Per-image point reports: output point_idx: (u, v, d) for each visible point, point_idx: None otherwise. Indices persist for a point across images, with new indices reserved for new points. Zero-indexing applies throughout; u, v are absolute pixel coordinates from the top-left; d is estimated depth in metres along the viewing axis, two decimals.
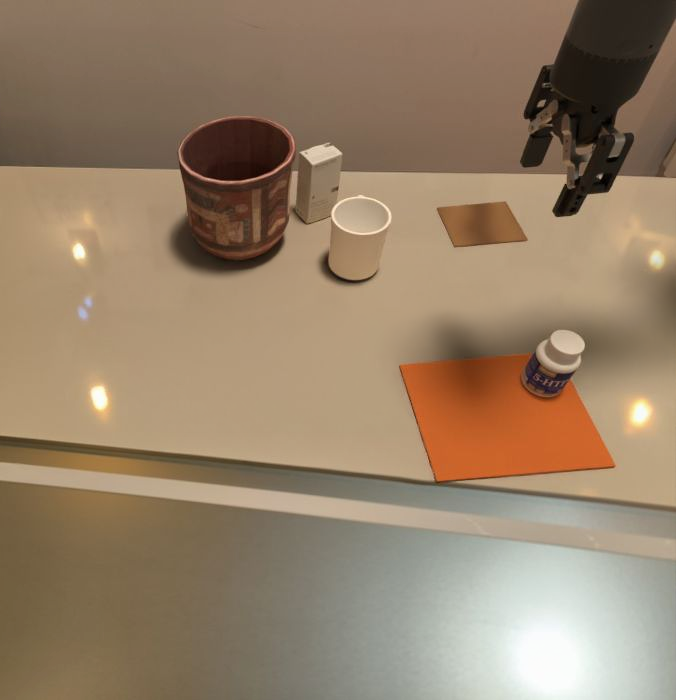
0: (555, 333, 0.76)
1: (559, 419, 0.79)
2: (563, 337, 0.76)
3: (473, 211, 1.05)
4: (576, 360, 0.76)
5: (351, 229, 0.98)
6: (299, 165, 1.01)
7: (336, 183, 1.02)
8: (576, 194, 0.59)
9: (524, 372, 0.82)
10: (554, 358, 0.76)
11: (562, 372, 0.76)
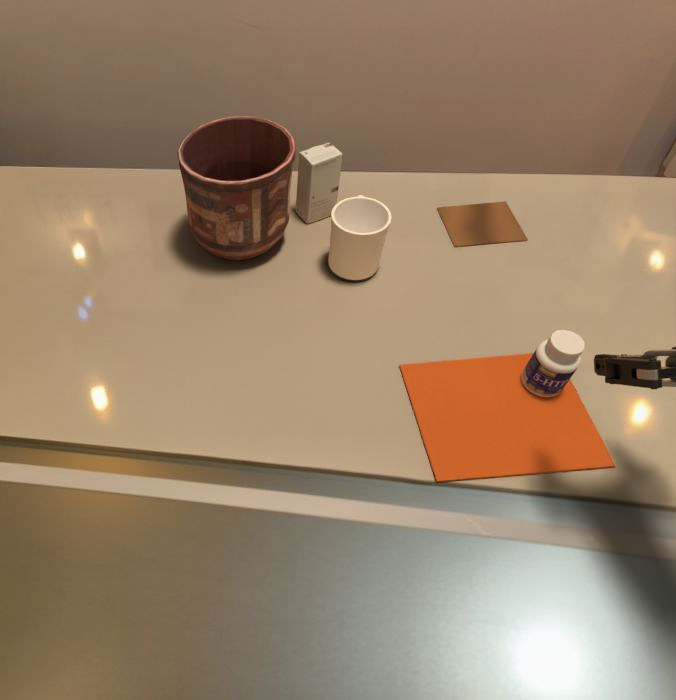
0: (555, 333, 0.76)
1: (559, 419, 0.79)
2: (563, 337, 0.76)
3: (473, 211, 1.05)
4: (576, 360, 0.76)
5: (351, 229, 0.98)
6: (299, 165, 1.01)
7: (336, 183, 1.02)
8: None
9: (524, 372, 0.82)
10: (554, 358, 0.76)
11: (562, 372, 0.76)
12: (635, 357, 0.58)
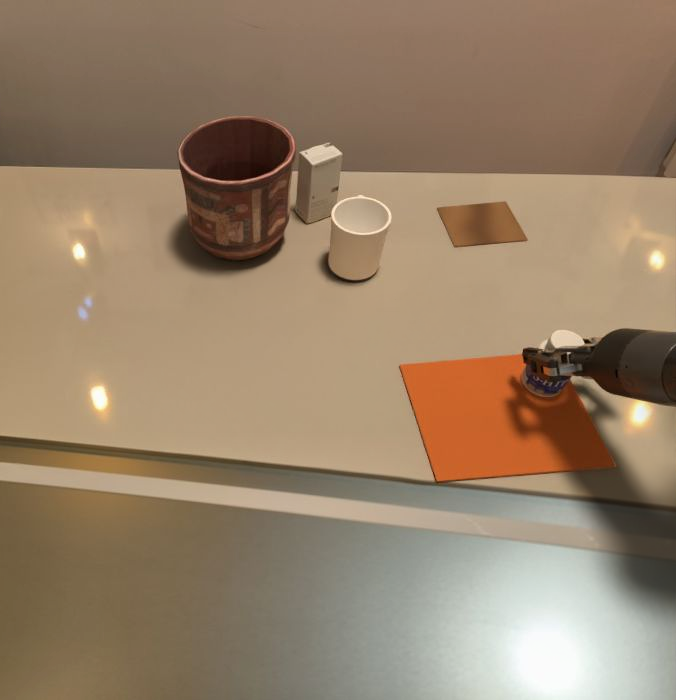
0: (555, 333, 0.76)
1: (559, 419, 0.79)
2: (563, 337, 0.76)
3: (473, 211, 1.05)
4: None
5: (351, 229, 0.98)
6: (299, 165, 1.01)
7: (336, 183, 1.02)
8: None
9: (524, 372, 0.82)
10: None
11: None
12: (549, 353, 0.74)
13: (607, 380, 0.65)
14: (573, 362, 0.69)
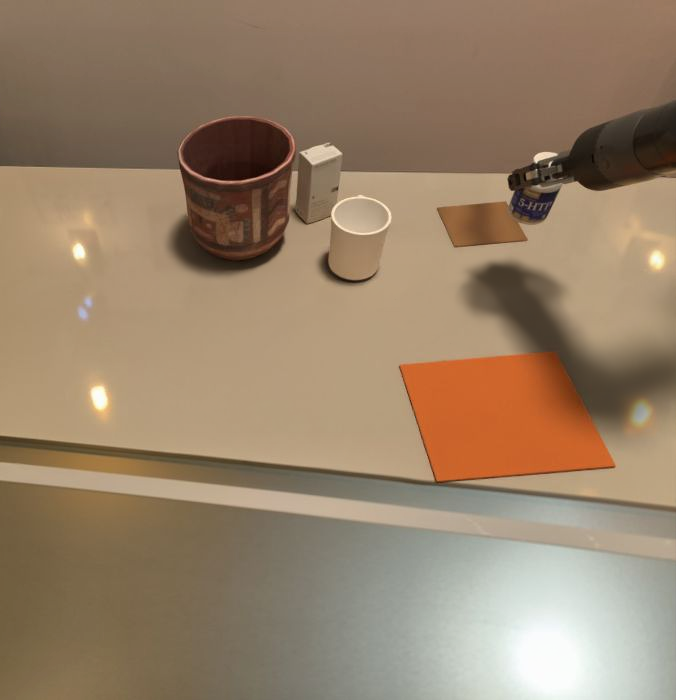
0: (538, 154, 0.80)
1: (559, 419, 0.79)
2: (546, 157, 0.80)
3: (473, 211, 1.05)
4: None
5: (351, 229, 0.98)
6: (299, 165, 1.01)
7: (336, 183, 1.02)
8: None
9: (510, 203, 0.86)
10: None
11: (545, 191, 0.80)
12: None
13: (585, 170, 0.69)
14: (553, 164, 0.73)
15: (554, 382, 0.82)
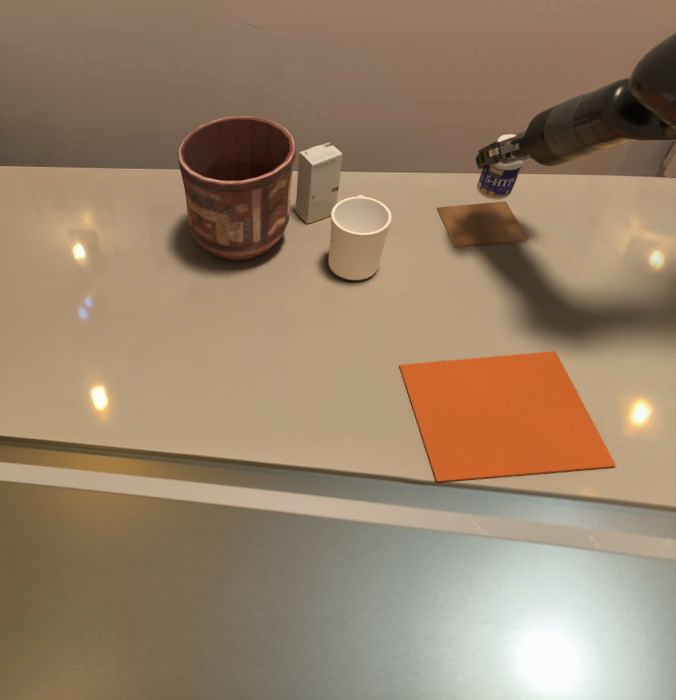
0: (502, 136, 0.92)
1: (559, 419, 0.79)
2: (508, 138, 0.91)
3: (473, 211, 1.05)
4: None
5: (351, 229, 0.98)
6: (299, 165, 1.01)
7: (336, 183, 1.02)
8: None
9: None
10: None
11: (507, 168, 0.91)
12: None
13: (537, 147, 0.80)
14: (512, 143, 0.84)
15: (554, 382, 0.82)
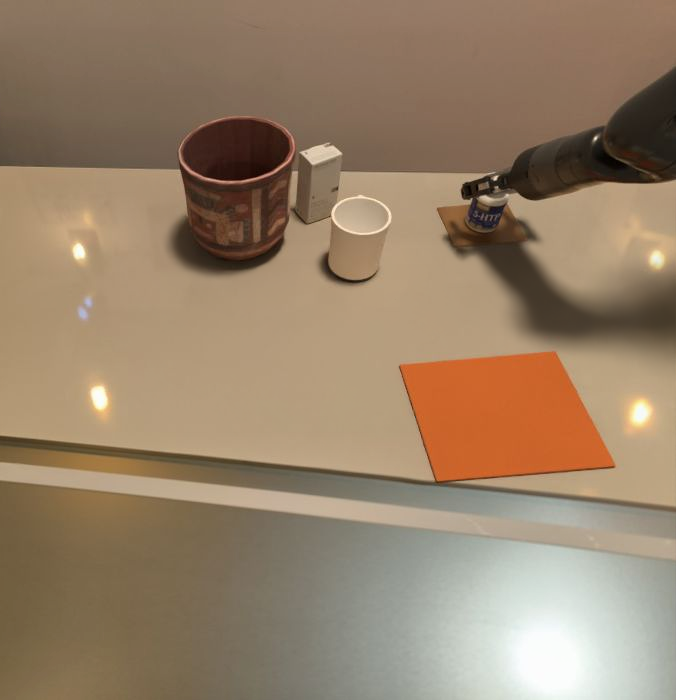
0: None
1: (559, 419, 0.79)
2: (495, 177, 0.96)
3: None
4: (505, 195, 0.97)
5: (351, 229, 0.98)
6: (299, 165, 1.01)
7: (336, 183, 1.02)
8: None
9: (467, 214, 1.02)
10: None
11: (493, 205, 0.97)
12: None
13: (522, 183, 0.85)
14: (500, 177, 0.88)
15: (554, 382, 0.82)
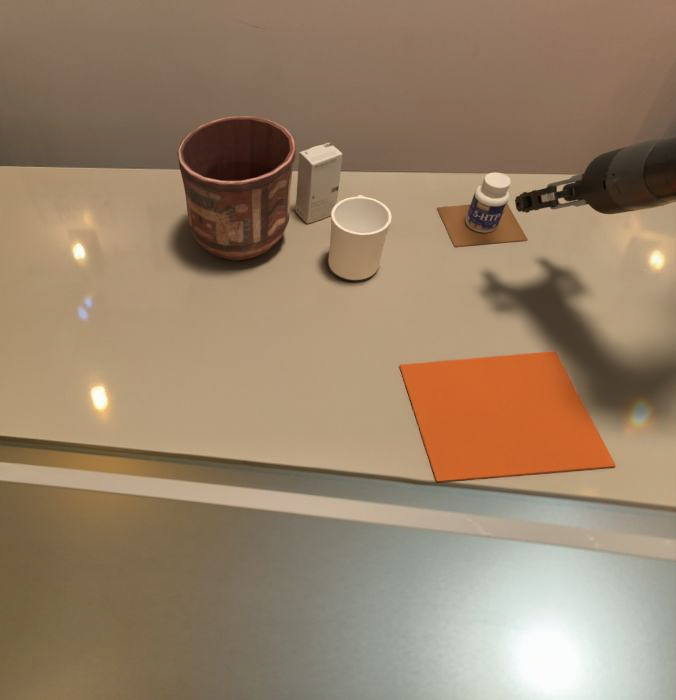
0: (488, 174, 0.97)
1: (559, 419, 0.79)
2: (495, 177, 0.96)
3: None
4: (505, 195, 0.97)
5: (351, 229, 0.98)
6: (299, 165, 1.01)
7: (336, 183, 1.02)
8: None
9: (467, 214, 1.02)
10: (487, 194, 0.97)
11: (493, 205, 0.97)
12: None
13: (596, 195, 0.72)
14: (568, 187, 0.76)
15: (554, 382, 0.82)
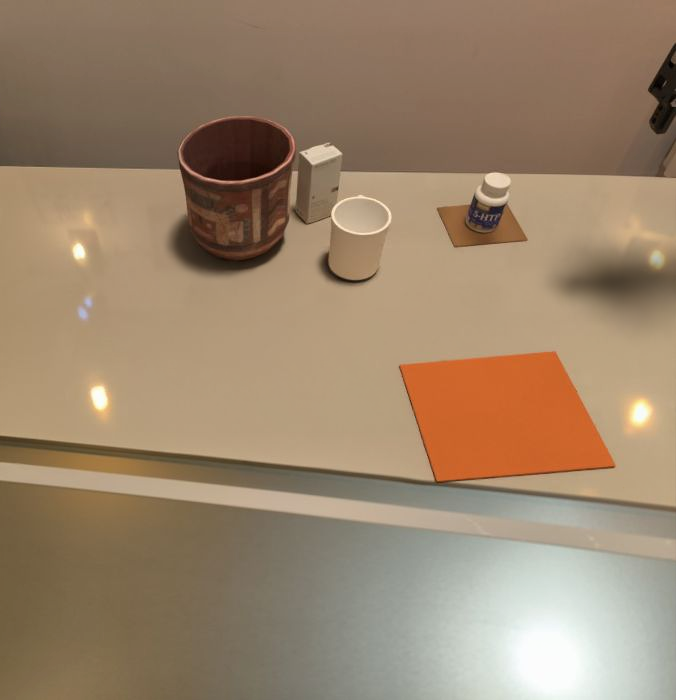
0: (488, 174, 0.97)
1: (559, 419, 0.79)
2: (495, 177, 0.96)
3: None
4: (505, 195, 0.97)
5: (351, 229, 0.98)
6: (299, 165, 1.01)
7: (336, 183, 1.02)
8: None
9: (467, 214, 1.02)
10: (487, 194, 0.97)
11: (493, 205, 0.97)
12: None
13: None
14: None
15: (554, 382, 0.82)
